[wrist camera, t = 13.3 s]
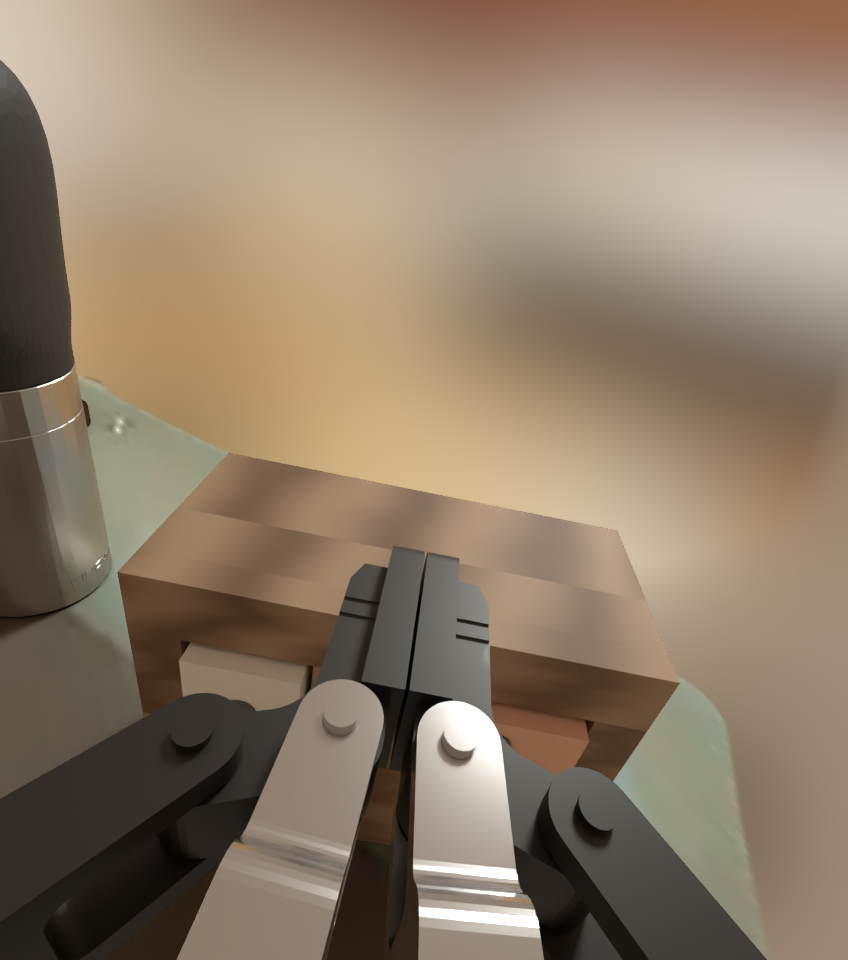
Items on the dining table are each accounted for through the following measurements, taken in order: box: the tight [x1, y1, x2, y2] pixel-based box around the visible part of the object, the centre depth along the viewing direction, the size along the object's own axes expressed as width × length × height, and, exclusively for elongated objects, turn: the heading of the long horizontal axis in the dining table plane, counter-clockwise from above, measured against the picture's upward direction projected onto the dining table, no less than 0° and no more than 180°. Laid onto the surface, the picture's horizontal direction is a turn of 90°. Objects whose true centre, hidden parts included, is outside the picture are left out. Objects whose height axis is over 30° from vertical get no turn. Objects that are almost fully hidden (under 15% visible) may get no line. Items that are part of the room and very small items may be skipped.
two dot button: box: [491, 701, 589, 775], centre depth 24 cm, size 5×5×5 cm
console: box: [118, 453, 680, 846], centre depth 28 cm, size 22×10×17 cm, turn 85°
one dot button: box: [179, 642, 313, 713], centre depth 24 cm, size 5×5×5 cm
